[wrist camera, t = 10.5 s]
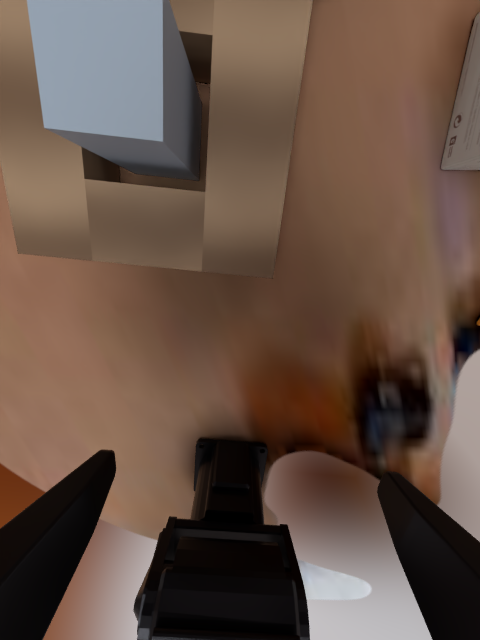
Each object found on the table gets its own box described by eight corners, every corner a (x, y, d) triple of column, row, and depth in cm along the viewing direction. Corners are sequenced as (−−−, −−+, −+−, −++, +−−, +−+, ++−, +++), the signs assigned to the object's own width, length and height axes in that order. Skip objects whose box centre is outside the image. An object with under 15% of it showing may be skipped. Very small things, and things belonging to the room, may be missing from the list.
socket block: (266, 267, 18) (272, 278, 14) (65, 247, 18) (18, 253, 14) (301, -2, 13) (326, -92, 10) (27, -39, 13) (-61, -148, 9)
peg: (202, 104, 15) (162, -21, 7) (199, 180, 16) (163, 141, 9) (132, 95, 15) (21, -40, 7) (135, 173, 16) (44, 128, 9)
